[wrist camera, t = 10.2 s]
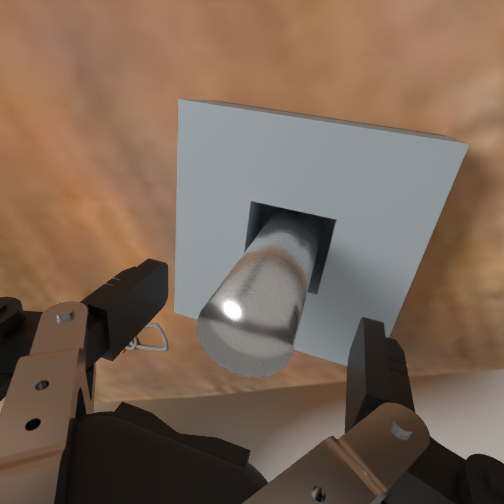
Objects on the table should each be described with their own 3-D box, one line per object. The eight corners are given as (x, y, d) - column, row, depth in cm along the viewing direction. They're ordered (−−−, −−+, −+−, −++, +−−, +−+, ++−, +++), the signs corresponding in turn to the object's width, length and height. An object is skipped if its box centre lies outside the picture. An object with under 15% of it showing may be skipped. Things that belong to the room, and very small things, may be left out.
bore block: (215, 100, 21) (178, 99, 17) (442, 135, 18) (469, 144, 14) (203, 279, 27) (174, 312, 23) (370, 326, 24) (373, 374, 20)
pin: (275, 196, 21) (199, 283, 11) (328, 207, 21) (302, 312, 10) (267, 244, 23) (194, 360, 12) (316, 256, 22) (283, 389, 12)
